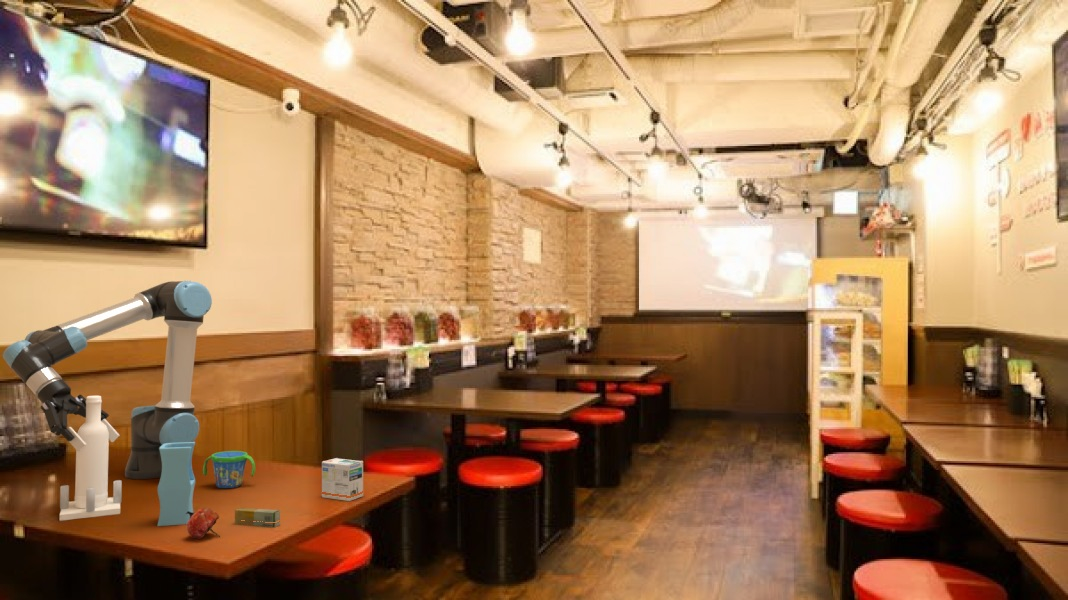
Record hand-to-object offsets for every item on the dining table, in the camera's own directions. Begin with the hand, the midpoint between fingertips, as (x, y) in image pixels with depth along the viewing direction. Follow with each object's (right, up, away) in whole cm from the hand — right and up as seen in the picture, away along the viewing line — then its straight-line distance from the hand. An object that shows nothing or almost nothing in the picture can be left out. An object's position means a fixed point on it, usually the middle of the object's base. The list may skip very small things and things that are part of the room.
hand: (99, 443), depth 206 cm
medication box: (+47, -19, -11) cm, 52 cm away
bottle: (-3, -17, 0) cm, 17 cm away
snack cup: (+24, -19, +29) cm, 42 cm away
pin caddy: (-3, -19, 0) cm, 19 cm away
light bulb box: (+63, -20, +17) cm, 68 cm away
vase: (+25, -19, -8) cm, 33 cm away
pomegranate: (+38, -19, -22) cm, 48 cm away
